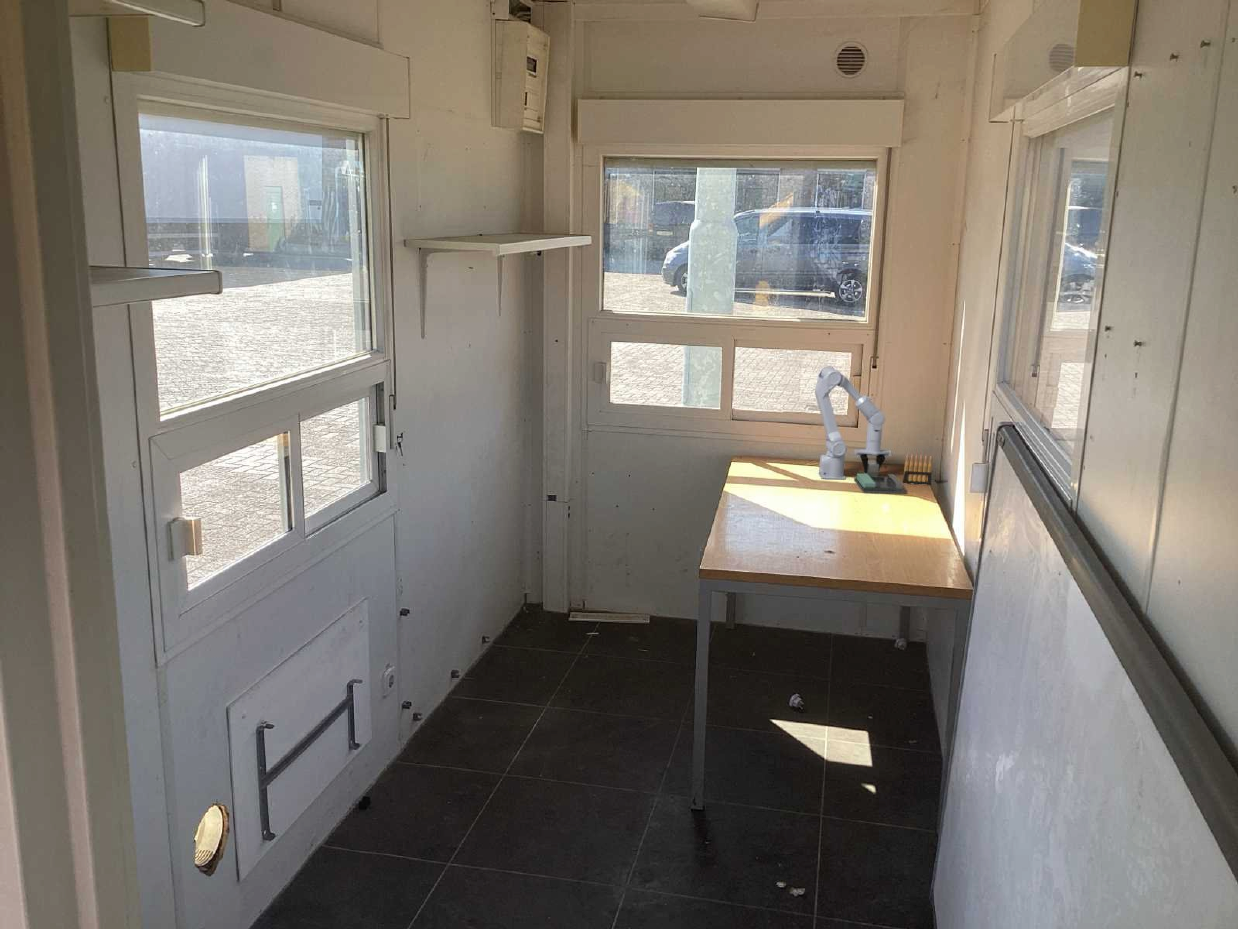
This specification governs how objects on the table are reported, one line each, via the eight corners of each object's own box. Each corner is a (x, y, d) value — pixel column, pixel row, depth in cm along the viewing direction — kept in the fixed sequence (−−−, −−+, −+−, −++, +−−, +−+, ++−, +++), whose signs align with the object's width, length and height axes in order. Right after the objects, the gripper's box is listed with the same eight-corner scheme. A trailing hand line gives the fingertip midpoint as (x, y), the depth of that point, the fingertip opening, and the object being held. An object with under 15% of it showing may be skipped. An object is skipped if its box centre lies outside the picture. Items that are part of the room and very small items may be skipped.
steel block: (867, 479, 429) (869, 464, 428) (863, 474, 436) (865, 460, 434) (877, 479, 429) (879, 464, 428) (873, 474, 436) (875, 460, 434)
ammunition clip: (902, 483, 424) (905, 453, 421) (902, 482, 426) (905, 452, 422) (931, 485, 422) (933, 455, 419) (930, 484, 424) (933, 454, 421)
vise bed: (864, 493, 409) (864, 484, 408) (854, 480, 427) (854, 472, 426) (906, 493, 409) (907, 485, 408) (894, 481, 427) (895, 472, 426)
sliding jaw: (864, 488, 411) (864, 483, 410) (856, 478, 424) (857, 473, 424) (875, 488, 411) (875, 483, 410) (866, 478, 424) (867, 473, 424)
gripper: (857, 441, 425) (855, 475, 428) (894, 442, 425) (891, 475, 428) (853, 437, 431) (851, 470, 435) (890, 438, 432) (887, 471, 435)
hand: (871, 472), depth 432 cm, fingers closed on steel block, 4 cm apart
